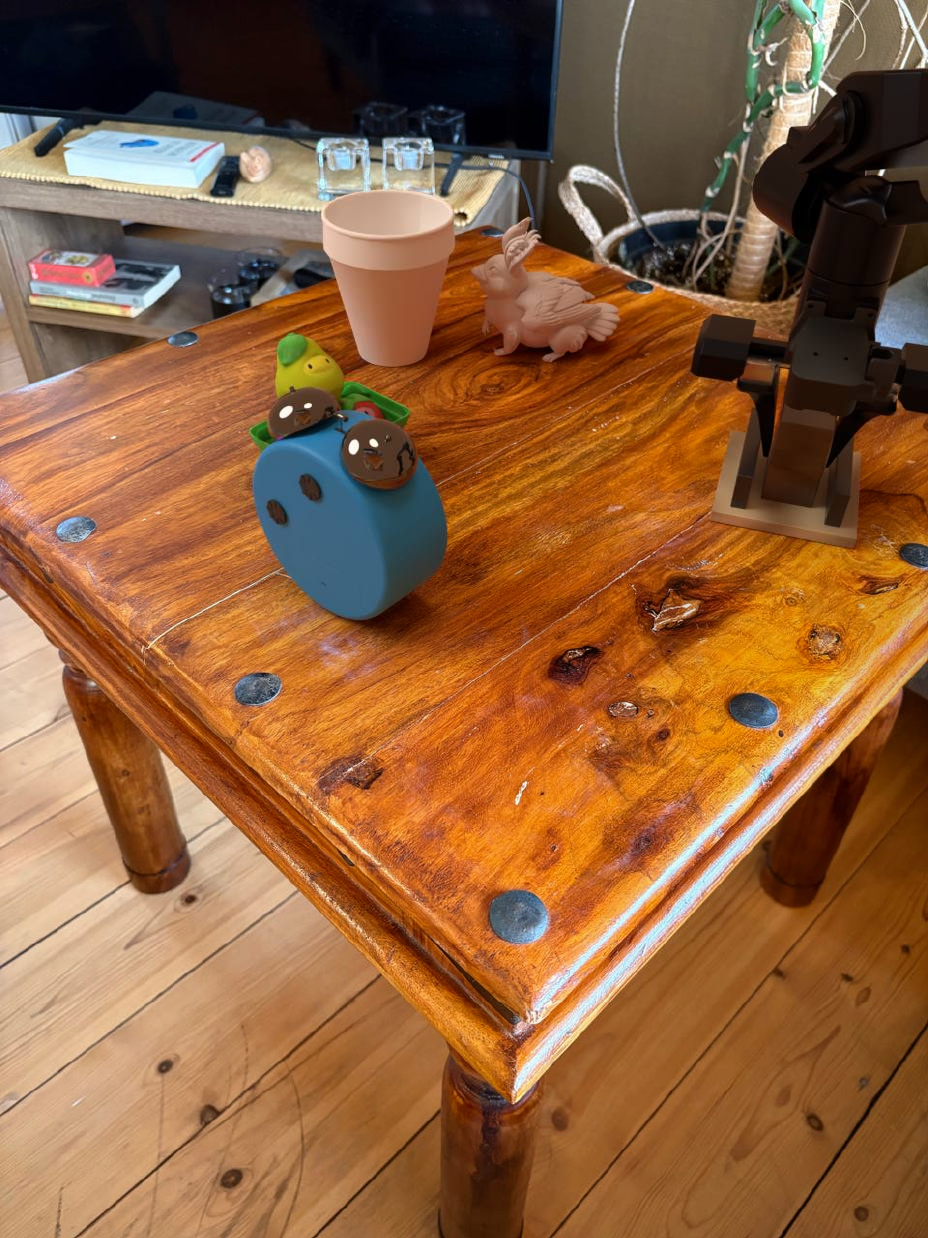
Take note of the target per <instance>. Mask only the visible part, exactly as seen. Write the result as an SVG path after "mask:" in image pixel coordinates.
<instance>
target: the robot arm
mask: <svg viewBox="0 0 928 1238" xmlns="http://www.w3.org/2000/svg"><path fill="white" fill-rule="evenodd" d="M835 92H836V93H835V94H834V95H833V96H832V97H831V98H830V99H829V101H828V102H827V104H826V105H825V106H824V107H823V109H822V110H821V112H820V113H819V114H818V116H817V117H816V118H815V120H814V121H813V123H812V124H810V125H809V124H808V125H793V126H790V127H789V128H788V132H787V137H786V141H785V143H783V144H782V145H780V146H778V147H777V148H775V149H774V150H773V151H772V152H771V153H770V154H769V155H768V156H767V157H766V158H765V160H764V161H763V162H762V164H761V165H760V167H759V169H758V171H757V172H756V173H755V175H754V177H753V180H752V188H751V189H752V190H751V194H752V201H753V203H754V206H755V207H756V209H757V210H758V211H759V212H760V213H761V214H762V215H763V216H764V217H766V218H767V219H769V220H770V221H771V222H773V224H775V225H777V226H778V227H779V228H780V229H782V230H783V231H785V232H786V233H788V234H789V235H790V236H791V237H793V238H794V239H795V240H797V241H798V242H800V243H802V244H806V245H810V246H811V247H810V251H809V254H808V258H807V263H806V266H805V271H804V274H803V278H802V283H801V287H800V291H799V295H798V299H797V301H796V302H797V303H796V306H795V311H794V314H793V319H792V323H791V327H790V330H789V334H788V339H787V341H785V340H779V339H774V338H773V339H772V338H766V337H759V336H754V332H755V329H756V323H757V319H753V318H752V319H751V318H744V317H739V316H731V315H726V314H717V313H711V314H710V315H709V316H707V317H706V318H704V320H703V321H702V324H701V326H700V327H701V328H700V330H699V333H698V336H697V338H696V341H695V346H694V351H693V356H692V360H691V367H690V373H692V374H693V375H694V376H695V377H697V378H698V377H699V378H705V379H711V380H717V381H722V382H728V383H732V382H733V381H736V379H737V381H736V384H735V388H736V390H737V391H738V392H740V393H743V394H744V393H745V394H748V395H749V397H750V398H751V399H752V401H753V405H754V408H756V411H757V415H758V421H759V429H760V437H761V444H762V452H763V457H768V456H769V452H770V448H771V444H772V439H773V434H774V430H775V426H776V414H777V404H778V397H779V395H778V394H779V387H780V377H781V369H785V370H788V373H787V377H786V382H785V387H784V392H783V395H784V396H782V399H783V400H784V402H785V404H786V405H787V406H788V407H790V408H792V409H796V410H804V409H808V410H814V411H820V412H826V413H829V414H830V415H832V416H838V417H837V423H836V428H835V433H834V438H833V442H832V446H831V450H830V453H829V457H828V460H827V464H826V467H825V468H828V467H829V466H830V465H831V464H832V462H833V461H834V460H835V459H836V457H837V456H838V455H839V454H840V452H841V451H842V450H843V449H844V447H845V446H846V445H847V443H848V442H849V441H850V440H851V439H852V437H853V436H854V437H855V435H856V434H857V433H858V432H859V431H860V430H861V429H862V428H863V427H864V426H865V425H866V424H867V423H868V422H869V421H871V420H873V419H874V418H877V417H880V416H882V417H883V416H884V417H891V416H894V415H895V414H896V412H897V411H898V402H899V403H900V404H901V406H902V408H903V409H904V410H905V411H907V412H913V413H919V414H925V415H928V345H927V344H920V343H914V342H908V341H907V342H906V341H905V342H904V344H903V346H902V347H901V348H899V347H894V346H893V347H891V346H885V345H882V342H880V341H876V328H877V324H878V320H879V319H880V318H879V317H880V314H881V312H882V307H883V305H884V302H885V298H886V295H887V292H888V289H889V285H890V283H891V280H892V279H891V278H892V275H893V272H894V268H895V265H896V263H897V258H898V256H899V252H900V249H901V246H902V242H903V239H904V236H905V233H906V230H907V226H915V225H926V224H928V199H927V198H926V197H925V196H924V194H923V192H922V188H921V182H920V181H919V180H918V179H911V180H910V179H908V180H895V181H893V180H891V179H889V178H888V177H885V176H882V175H880V174H879V175H878V174H868V175H867V174H866V173H867V172H868V171H870V172H871V171H883V170H885V171H886V170H896V169H911V168H923V167H928V67H912V68H894V69H893V68H892V69H874V70H857V71H852V72H850V73H848V74H847V75H845V76H844V77H842V79H841V80H840V81H839V82H838V83H837V85H836V87H835Z"/></svg>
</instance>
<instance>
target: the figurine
mask: <svg viewBox="0 0 928 1238" xmlns="http://www.w3.org/2000/svg"><path fill="white" fill-rule="evenodd" d="M533 219H534V218H533V217H530V216H527V217H526V218H524V219H522V220H521V221H520V222H518V223H517V224H512V226H509V228H508V229H507V230H506V231H505V232H504V234H503V236H502V238H501V249H502V252H503V253H498V254H494V255H492V257H490V258H488V259H487V261H485V262H484V264H483V263H481V264H479V265H477V266H474V267H472V268H471V269H470V273H471V274H470V275H471V276H472V277H473V278H474V279H475V280H476V281H477V282H478V283H479V285H480V287H481V289H482V291H483V293H484V294H485V295H486V299H485V301H484V314H485V317H484V320H483V324H482V327H481V332H482V333H483V334H484V336H487V334H489V333H490V328H491V327H495V328H496V330H497V331H499V332H500V333H501V334H502V335H503V347H500V348H497V349H496V350H495V349H494V351H493V352H492V353H493V354H494V355H495V356H497V357H500V356H506V355H510V354H512V353H514V351H515V350H516V349H518V347H519V345H520V344H522V345H524V346H526V347H529V348H533V349H536V348H537V349H538V348H540V349H541V348H548V347H550V348H551V350H552V351H553V352H550V353H547V354H545V355H544V356H542V357H541V358H542V359H541V361H543V362H544V363H545V362H546V363H547V362H548V363H553V361H555V360H557V359H559V358H561V357H563V356H565V355H566V354H565V353H568V352H570V353H576V352H578V350H582V349H583V345H584V343H585V341H587V340H588V336H589V337H591V338H592V339H594V340H596V341H597V342H604V341H606V338H607V337H610V336H612V335H613V333H614V331H615V330H616V329H617V328H618V326H617V323H620V321H621V317H620V316H619V315H617V314H619V313H620V309H619V308H618V307H617V306H616V305H614V304H611V303H608V302H594V303H582V302H584V301H585V300H586V301H587V300H594V299H595V298H596V297H595V296H594V294H592V293H591V292H589V291H586V290H585V289H584V288H583V287H581V286H582V284H581V283H580V282H578V281H576V280H573V279H570V278H569V277H564V276H556V275H554V274H553V273H551V272H548V271H542V270H541V271H540V270H538V271H536V270H535V271H531V272H529V271H528V272H527V270H526V268H525V267H524V265H523V263H524V262H525V261H526V260H527V259H529V257H530V256H531V254H532V253H533V251H534V250H535V248H536V245H537V244H539V241H538V239H542V236H541V235H540V234H538V233H536V232H538V230H537V229H531V230H530V231H529V232H528V231H527V230H528V228H529V225H530V223H531V222H532V221H533Z"/></svg>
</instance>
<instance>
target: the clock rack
mask: <svg viewBox="0 0 928 1238" xmlns="http://www.w3.org/2000/svg"><path fill="white" fill-rule="evenodd" d="M854 445H855V435H854V436H853V437H852V439H851V440H850V441H849V442H848V443H847V445H846V446H845V447H844V449H843V450H842V451H841V452H840V454H839V455H838V456H837V457H836V459H835V460H834V461H833V462H832V464H831V465H830V466H829V467H828V468H825V470H824V473H823V475H822V478H821V479H820V483H819V486H818V489H817V492H816V496H815V499H814V502H813V505H812V508H808V507H803V506H798V505H793V504H787V503H782V502H777V501H771V500H766V499H761V492H762V486H763V481H764V475H765V470H766V464H767V459H768V457H763V452H762V444H761V437H760V429H759V421H758V415H757V411H756V408H755V406H754V407H753V406H752V407H751V411H750V415H749V419H748V424H747V427H746V431H740V430H735V429H731V430H730V433H729V437H728V442H727V446H726V450H725V453H724V454H725V455H724V459H723V462H722V466H721V470H720V475H719V478H718V481H717V482H718V483H717V488H716V490H715V496H714V498H713V503H712V506H711V507H712V508H711V510H710V515H709V521H710V522H713V523H714V522H715V523H720V524H725V525H730V526H735V527H740V528H745V529H750V530H755V531H759V532H765V533H771V534H775V535H776V534H777V535H780V536H785V537H790V538H794V539H795V538H796V539H799V540H800V539H801V540H806V541H810V542H816V543H822V544H825V545H832V546H837V547H840V548H841V547H842V548H847V549H852V550H853V549H855V546H856V543H857V540H858V524H859V523H858V522H859V507H860V506H859V505H860V486H861V469H862V467H861V465H862V452H861V451H855V450H854V447H855V446H854Z"/></svg>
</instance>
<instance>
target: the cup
mask: <svg viewBox="0 0 928 1238" xmlns="http://www.w3.org/2000/svg"><path fill="white" fill-rule="evenodd" d="M455 217H456V213H455V210H454V207H453V206H452V205H451V204H450V203H448V202H447V201H446V200H445V199H442V198H440V197H438V196H436V195H433V194H430V193H426V192H421V191H415V190H408V189H392V188H391V189H390V188H389V189H387V188H385V189H370V190H362V191H357V192H356V191H355V192H352V193H348V194H345V195H342V196H339V197H337V198H334V199H332V200H331V201H330V202H327V203H326V204H325V205H324V207H323V208H322V210H321V212H320V218H321V221H322V247H323V252H324V253H325V254H326V255H327V256H328V258H329V260H330V263H331V267H332V270H333V273H334V276H335V279H336V283H337V287H338V289H339V293H340V296H341V299H342V302H343V306H344V309H345V312H346V315H347V319H348V322H349V326H350V328H351V331H352V335H353V339H354V341H355V345H356V348H357V351H358V354H359V356H360V357H361V359H362V360H364V361H366V362H367V363H369V364H372V365H376V366H379V367H389V368H395V367H396V368H397V367H405V366H410V365H413V364H415V363H418V362H419V361H421V360H423V359H424V358H425V356H426V355H427V353H428V348H429V344H430V339H431V336H432V331H433V327H434V324H435V318H436V315H437V309H438V307H439V301H440V298H441V293H442V288H443V284H444V281H445V277H446V271H447V267H448V263H449V259H450V255H451V254H453V252H454V250H455V248H456V233H455V232H456V230H455Z"/></svg>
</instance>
